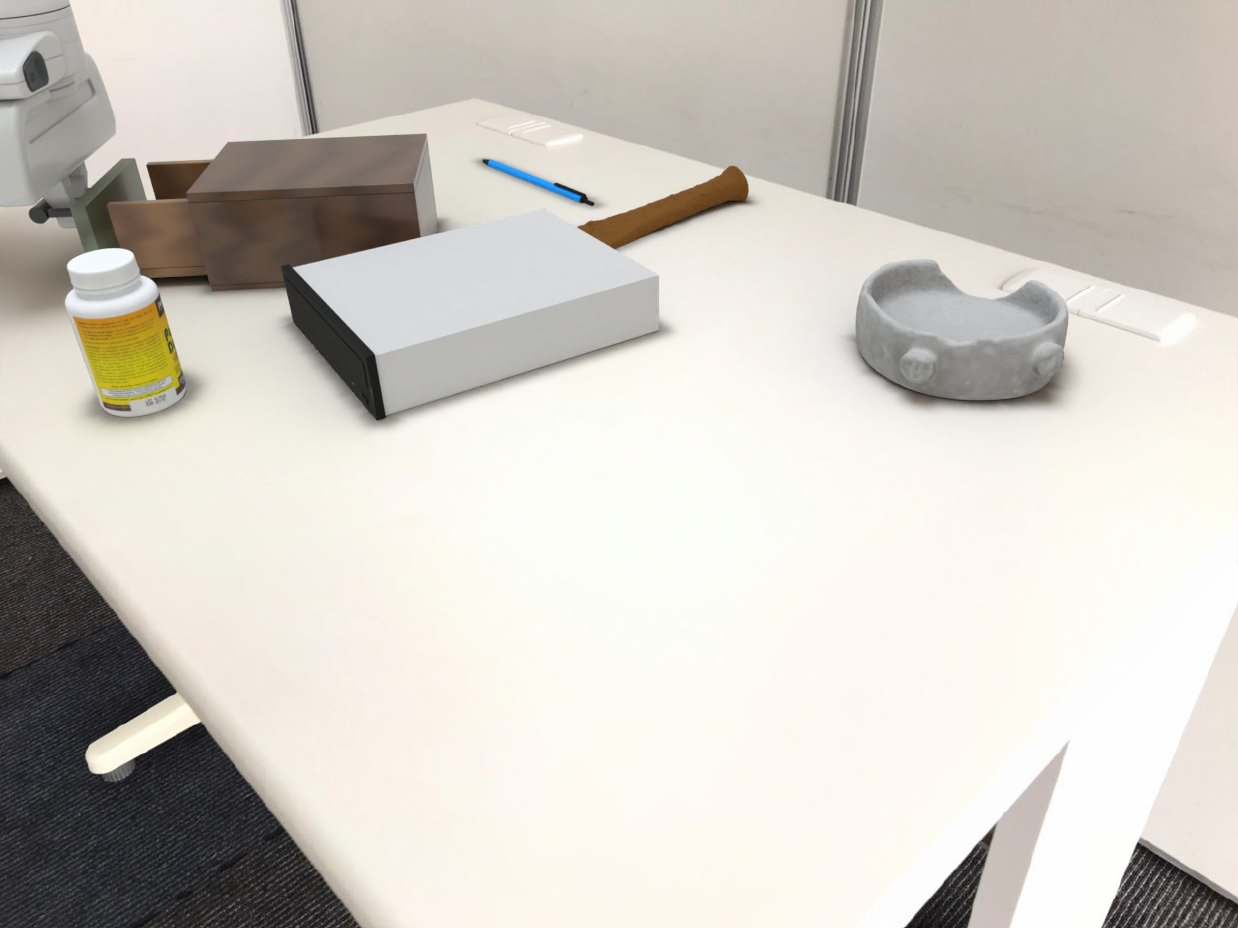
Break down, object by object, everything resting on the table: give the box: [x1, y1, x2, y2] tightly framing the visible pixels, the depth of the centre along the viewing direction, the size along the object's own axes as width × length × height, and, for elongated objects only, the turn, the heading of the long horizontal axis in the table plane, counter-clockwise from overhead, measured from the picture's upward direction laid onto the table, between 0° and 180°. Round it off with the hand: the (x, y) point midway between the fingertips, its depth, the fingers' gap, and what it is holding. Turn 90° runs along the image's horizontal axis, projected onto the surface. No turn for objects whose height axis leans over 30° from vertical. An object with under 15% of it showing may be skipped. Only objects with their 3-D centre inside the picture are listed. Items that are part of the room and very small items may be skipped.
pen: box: [481, 158, 595, 207], centre depth 104 cm, size 1×19×1 cm, turn 41°
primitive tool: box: [576, 165, 750, 250], centre depth 94 cm, size 19×6×4 cm, turn 130°
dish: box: [855, 258, 1070, 401], centre depth 70 cm, size 14×14×5 cm
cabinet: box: [186, 133, 439, 292], centre depth 87 cm, size 18×14×9 cm
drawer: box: [28, 157, 214, 279], centre depth 86 cm, size 21×12×7 cm, turn 95°
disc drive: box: [281, 208, 660, 421], centre depth 75 cm, size 18×22×5 cm
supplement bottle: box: [64, 248, 187, 418], centre depth 66 cm, size 6×6×10 cm
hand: (77, 222), depth 86 cm, fingers closed, pressing on drawer
